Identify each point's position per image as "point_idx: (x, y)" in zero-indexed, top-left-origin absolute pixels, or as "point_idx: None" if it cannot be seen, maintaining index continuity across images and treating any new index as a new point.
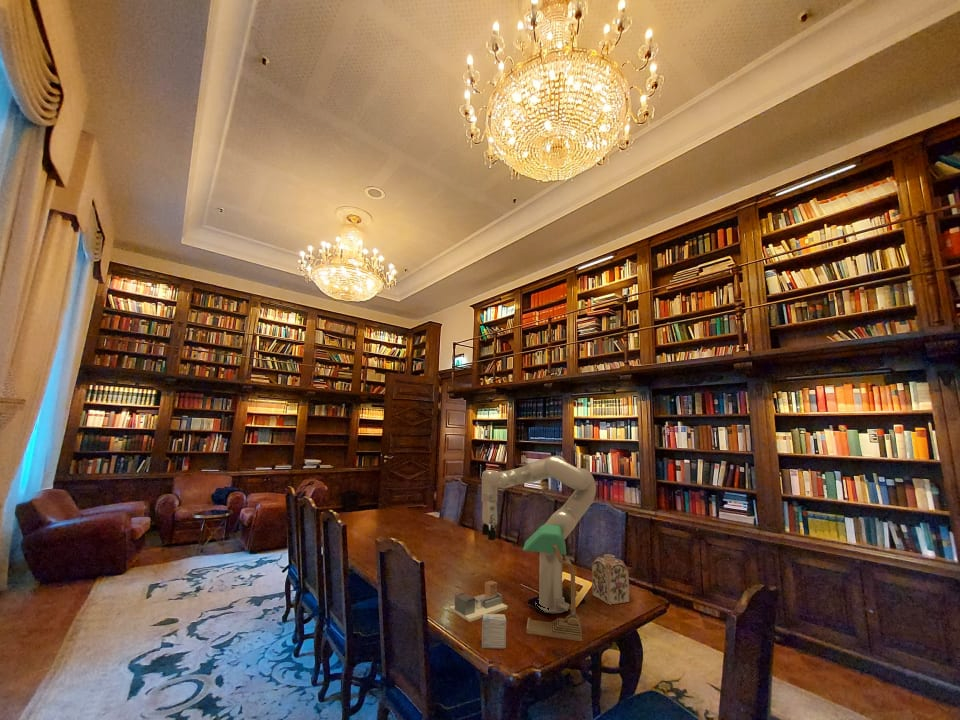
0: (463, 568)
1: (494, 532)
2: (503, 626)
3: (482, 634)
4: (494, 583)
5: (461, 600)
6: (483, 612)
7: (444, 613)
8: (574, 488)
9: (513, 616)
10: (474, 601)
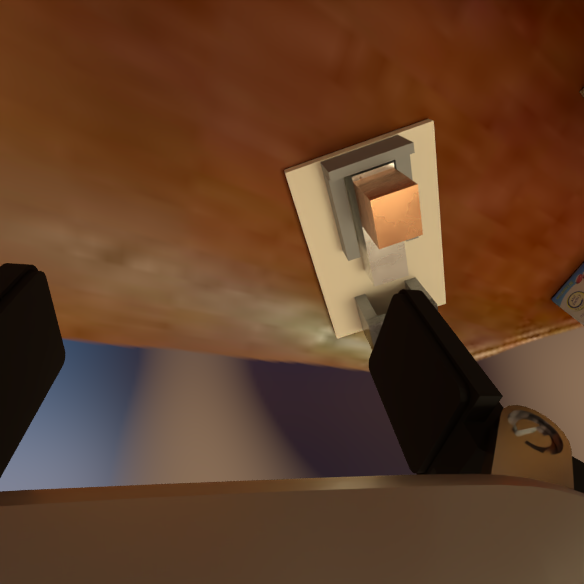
0: None
1: (470, 376)
2: None
3: None
4: (417, 205)
5: None
6: (430, 248)
7: (354, 348)
8: None
9: (499, 128)
10: (432, 300)
